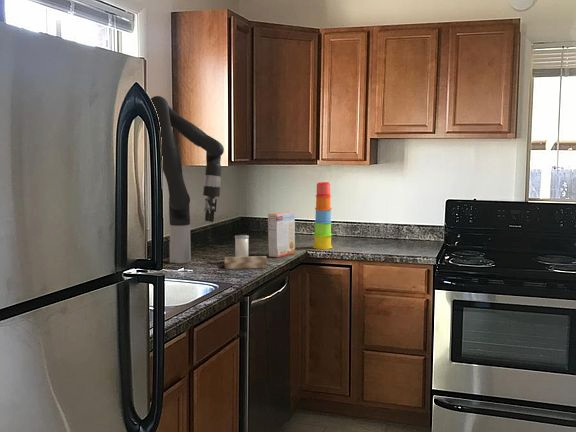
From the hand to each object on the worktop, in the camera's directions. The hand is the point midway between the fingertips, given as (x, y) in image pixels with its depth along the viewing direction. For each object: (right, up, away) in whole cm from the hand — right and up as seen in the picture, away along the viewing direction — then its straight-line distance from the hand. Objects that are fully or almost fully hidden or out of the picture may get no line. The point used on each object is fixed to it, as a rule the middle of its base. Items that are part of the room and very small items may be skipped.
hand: (209, 221), depth 282 cm
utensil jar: (+15, -19, +3) cm, 24 cm away
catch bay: (+17, -20, -9) cm, 27 cm away
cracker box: (+33, -17, +21) cm, 42 cm away
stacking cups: (+54, -15, +45) cm, 72 cm away
